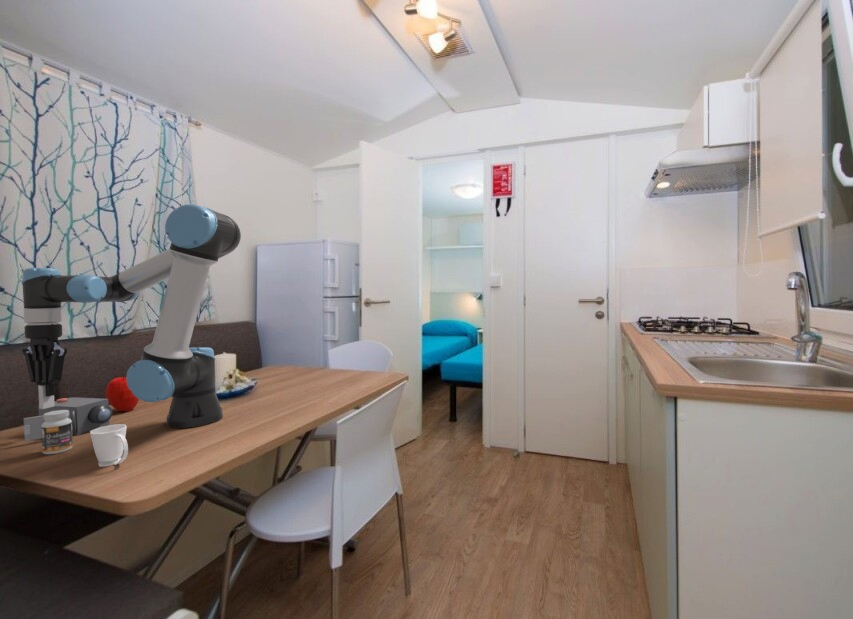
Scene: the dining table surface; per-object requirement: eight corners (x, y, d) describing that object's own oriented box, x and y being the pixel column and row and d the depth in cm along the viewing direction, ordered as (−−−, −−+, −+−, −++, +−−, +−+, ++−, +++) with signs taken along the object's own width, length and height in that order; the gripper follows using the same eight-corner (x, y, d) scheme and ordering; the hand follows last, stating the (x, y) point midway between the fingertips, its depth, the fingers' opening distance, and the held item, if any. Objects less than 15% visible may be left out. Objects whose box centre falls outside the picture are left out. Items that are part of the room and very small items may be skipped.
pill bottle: (46, 457, 96) (44, 416, 96) (39, 452, 99) (37, 413, 99) (76, 449, 101) (74, 410, 100) (68, 445, 104) (66, 407, 103)
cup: (117, 454, 96) (116, 422, 96) (143, 460, 92) (142, 427, 92) (83, 466, 90) (81, 431, 90) (109, 473, 86) (107, 437, 86)
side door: (75, 432, 111) (74, 410, 111) (75, 433, 110) (74, 411, 110) (25, 440, 105) (24, 417, 105) (24, 442, 104) (23, 418, 104)
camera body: (116, 425, 120) (115, 396, 119) (84, 435, 111) (83, 405, 110) (73, 422, 123) (71, 395, 123) (38, 432, 114) (37, 403, 114)
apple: (98, 414, 132) (96, 378, 131) (126, 406, 141) (125, 372, 141) (122, 415, 130) (120, 379, 129) (149, 407, 139) (148, 373, 139)
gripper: (76, 323, 112) (79, 405, 113) (41, 322, 114) (44, 402, 115) (46, 324, 104) (49, 412, 105) (9, 324, 107) (12, 410, 108)
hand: (46, 407), depth 110 cm, fingers closed
